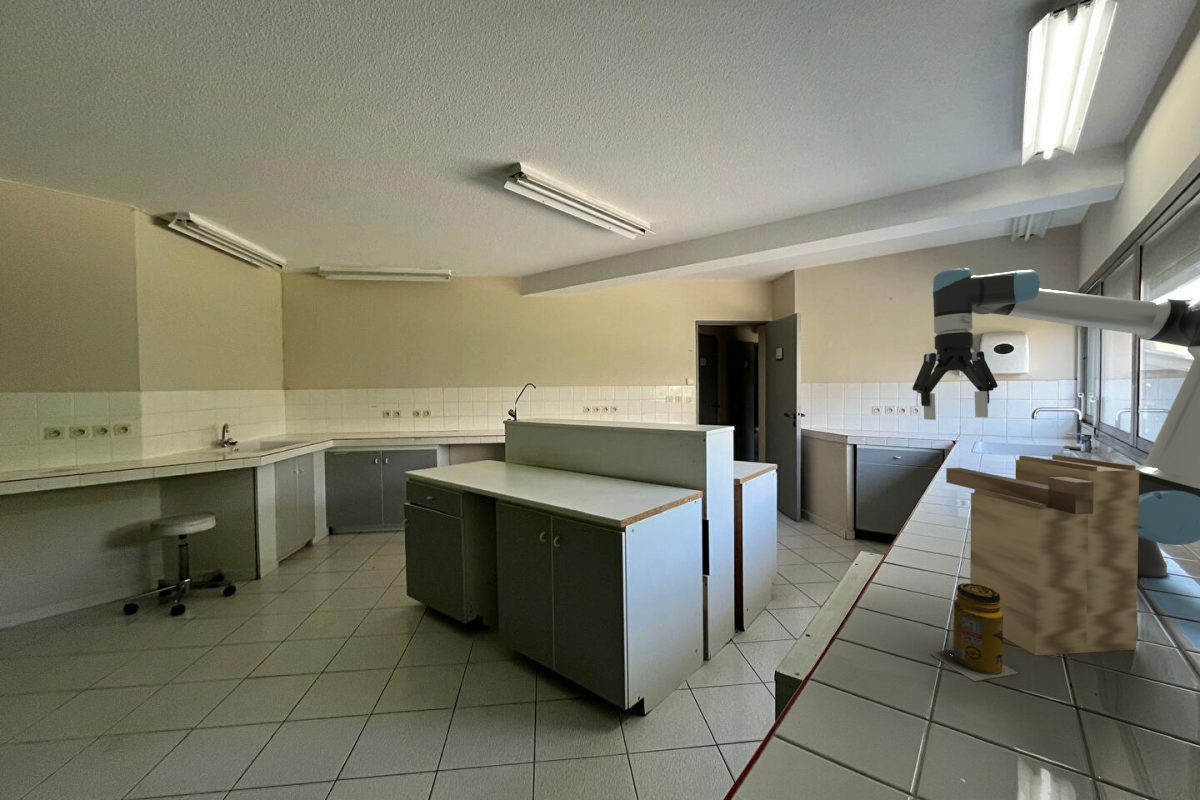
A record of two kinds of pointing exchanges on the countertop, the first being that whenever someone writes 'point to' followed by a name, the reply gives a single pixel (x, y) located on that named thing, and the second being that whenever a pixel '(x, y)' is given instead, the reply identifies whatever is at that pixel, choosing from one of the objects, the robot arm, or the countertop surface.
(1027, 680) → the countertop surface
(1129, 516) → the notch post
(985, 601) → the condiment
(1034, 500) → the frame bar
